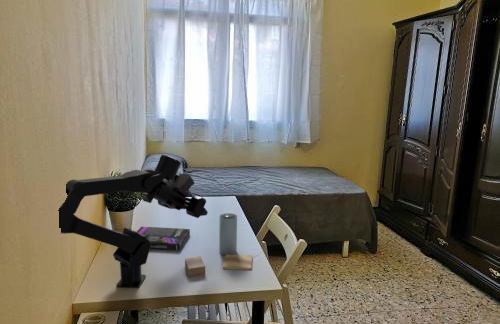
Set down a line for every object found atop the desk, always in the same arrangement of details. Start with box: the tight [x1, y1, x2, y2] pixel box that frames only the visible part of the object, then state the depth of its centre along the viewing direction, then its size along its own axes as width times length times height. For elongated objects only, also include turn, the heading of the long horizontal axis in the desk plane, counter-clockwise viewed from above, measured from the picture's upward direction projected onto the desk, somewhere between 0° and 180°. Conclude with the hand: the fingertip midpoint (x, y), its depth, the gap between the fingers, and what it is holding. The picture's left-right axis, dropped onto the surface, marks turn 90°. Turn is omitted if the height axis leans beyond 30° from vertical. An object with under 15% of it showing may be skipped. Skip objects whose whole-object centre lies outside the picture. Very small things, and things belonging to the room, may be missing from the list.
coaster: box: [222, 254, 253, 271], centre depth 116 cm, size 9×9×1 cm
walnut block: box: [184, 256, 206, 278], centre depth 111 cm, size 7×5×3 cm
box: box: [136, 226, 191, 252], centre depth 132 cm, size 14×4×20 cm
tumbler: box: [218, 212, 238, 256], centre depth 123 cm, size 6×6×13 cm
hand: (197, 210), depth 120 cm, fingers open, 9 cm apart
